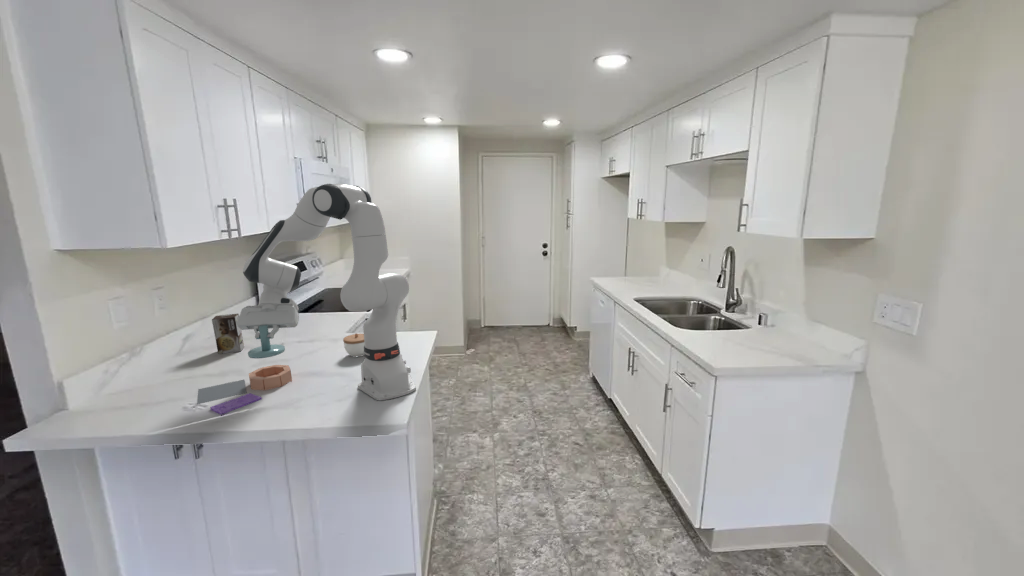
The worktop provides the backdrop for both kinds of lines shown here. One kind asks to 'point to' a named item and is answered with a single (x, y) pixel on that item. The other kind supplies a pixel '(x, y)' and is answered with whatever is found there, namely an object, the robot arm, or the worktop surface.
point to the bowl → (270, 377)
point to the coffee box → (227, 333)
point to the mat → (221, 391)
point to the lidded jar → (354, 344)
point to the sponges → (235, 403)
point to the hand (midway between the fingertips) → (264, 338)
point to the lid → (265, 346)
